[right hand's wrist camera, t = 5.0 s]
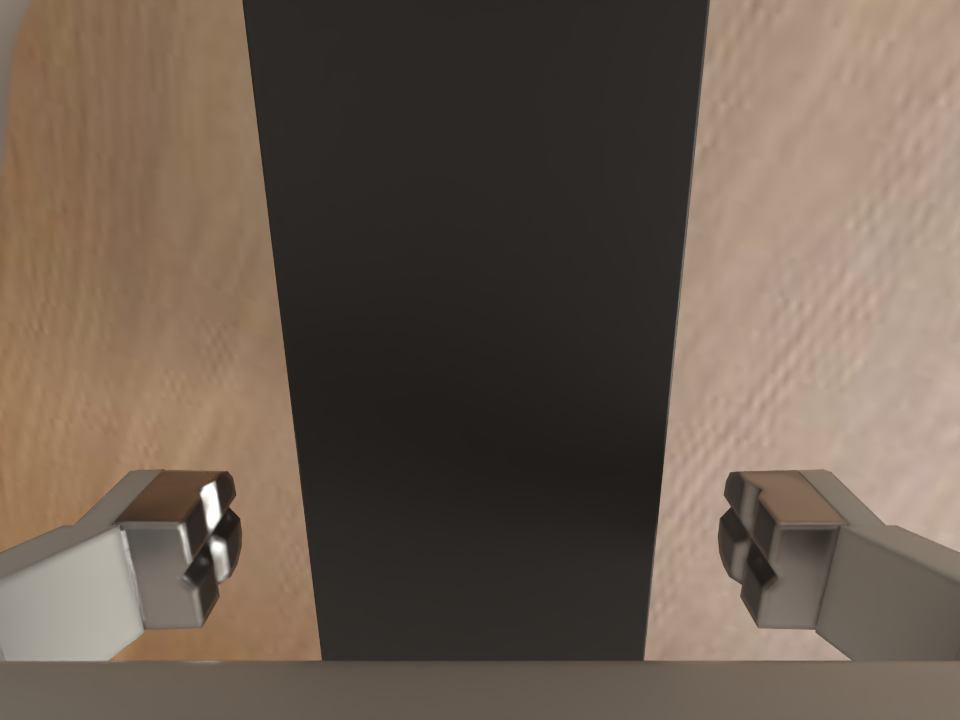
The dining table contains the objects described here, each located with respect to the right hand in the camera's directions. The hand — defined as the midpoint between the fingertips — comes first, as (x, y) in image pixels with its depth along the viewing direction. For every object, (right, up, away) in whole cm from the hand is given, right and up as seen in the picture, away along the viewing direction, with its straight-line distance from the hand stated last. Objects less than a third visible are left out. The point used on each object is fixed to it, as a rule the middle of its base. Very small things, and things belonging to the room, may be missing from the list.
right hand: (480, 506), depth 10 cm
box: (0, +11, +9) cm, 14 cm away
